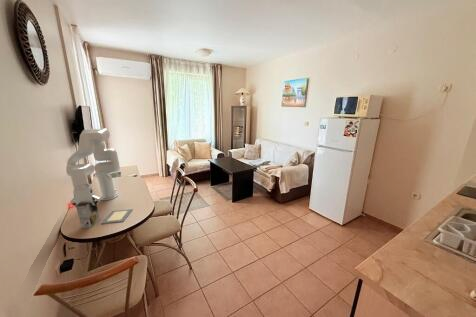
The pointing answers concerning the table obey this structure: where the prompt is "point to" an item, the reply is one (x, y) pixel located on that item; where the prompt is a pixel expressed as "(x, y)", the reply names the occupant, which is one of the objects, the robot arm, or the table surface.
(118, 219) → the mat
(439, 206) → the table surface
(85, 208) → the coffee box
